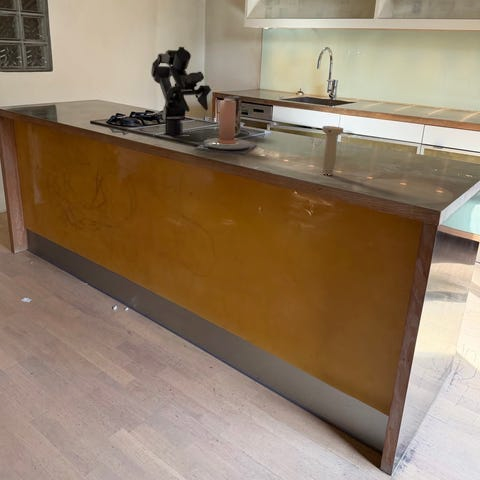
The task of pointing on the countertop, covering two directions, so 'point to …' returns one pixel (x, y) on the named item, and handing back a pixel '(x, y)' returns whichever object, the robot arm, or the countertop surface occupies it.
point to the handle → (330, 148)
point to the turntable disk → (237, 146)
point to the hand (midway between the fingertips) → (198, 110)
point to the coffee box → (238, 112)
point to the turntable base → (242, 151)
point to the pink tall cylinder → (227, 122)
